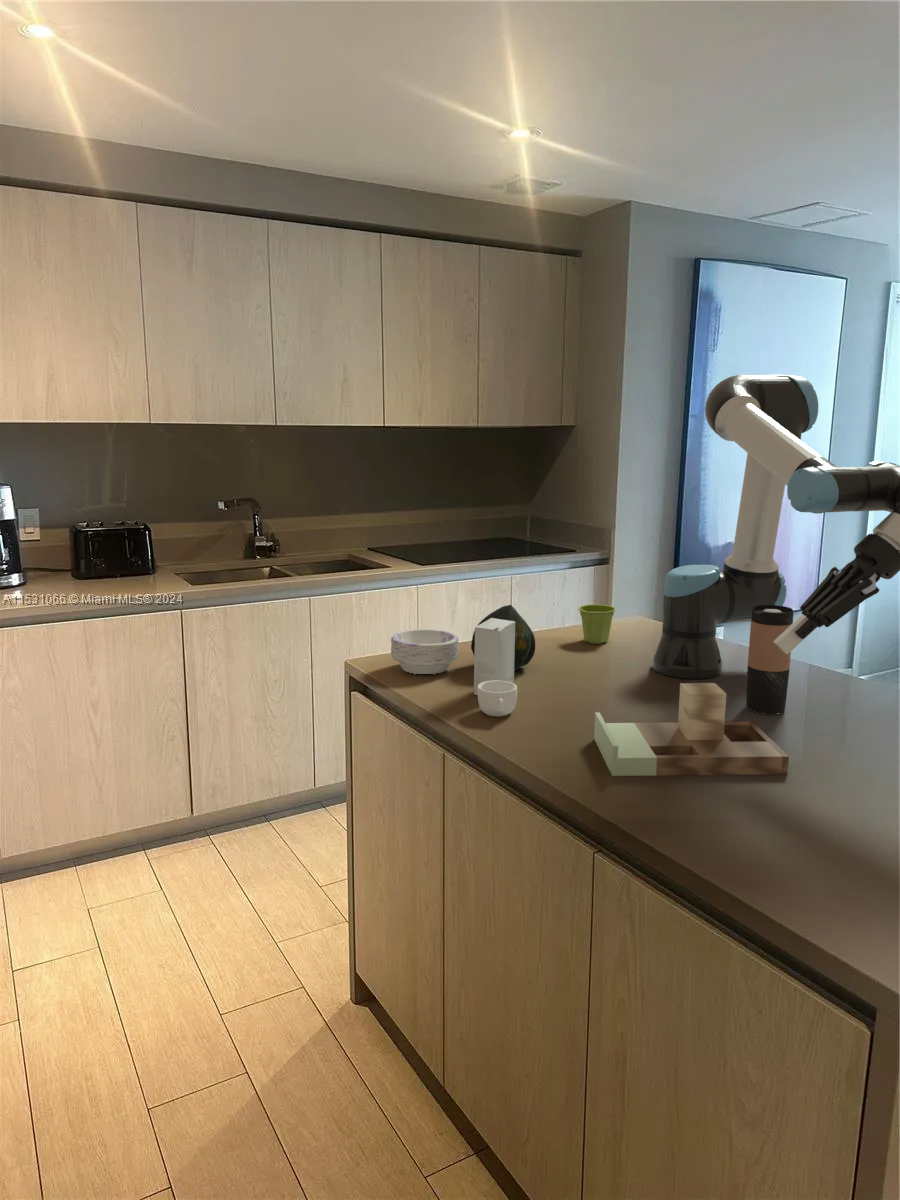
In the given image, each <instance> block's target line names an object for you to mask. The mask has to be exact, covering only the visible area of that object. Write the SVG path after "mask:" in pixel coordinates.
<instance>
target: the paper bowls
mask: <svg viewBox="0 0 900 1200" xmlns="http://www.w3.org/2000/svg"><path fill="white" fill-rule="evenodd" d="M390 642H391V647H390V649H391V651H390V653H391V654H390V655H391V658H392V660H393V661H395V662H398V663H399V665H400V667H401V669H402V670H403V671H404V672H406V673H408V672H409V673H408V674H411V673H413V674H412V675H416V674H433V675H437V674H436V673H438V674H442V673H444V672H445V671H447V670H448V668H449V666H450V664H451V663H454V662H456V660H458V658H459V637H458V636H457V634H455V633H453V632H450V631H446V630H441V629H440V630H439V629H431V628H429V629H427V628H426V629H423V628H422V629H421V628H420V629H407V630H402V631H398V632H396V633H393V634H392V636H391V638H390Z"/></svg>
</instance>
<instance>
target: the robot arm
mask: <svg viewBox="0 0 900 1200" xmlns="http://www.w3.org/2000/svg"><path fill="white" fill-rule="evenodd" d="M704 414H705V419H706V422H707V424H708V425H709V427H710V429H711V430H712V431H713V432H714V433H715V434H716V435H718V436H719V437H720V438H721V439H722V440H725V441H728V442H734V443H735V444H737V446H739V447H740V448H741V449H743V450H744V451H745V452H746V454H747V455H746V461H745V468H744V474H743V475H744V476H743V481H742V489H741V494H740V501H739V509H738V515H737V522H736V529H735V534H734V541H733V548H732V553H731V554H730V555H728V556H727V557H725V559H724V561H723V566H722V567H723V568H722V570H720V568H719V567H718V566H716V565H714V564H689V565H681V566H678V567H675V568H673V569H671V570H669V571H668V572H667V573H666V575H665V579H664V587H663V589H662V591H663V592H662V594H663V604H662V605H663V606H662V607H663V608H662V609H663V610H662V625H661V628H662V629H661V630H662V632H661V636H660V639H659V642H658V644H657V648H656V650H655V653H654V655H653V658H652V669H653V670H654V671H655V672H658V673H659V674H662V675H664V676H667V677H668V676H670V677H674V678H681V679H690V680H691V679H692V680H693V679H697V680H698V679H699V680H701V679H710V678H714V677H718V676H719V675H721V674H723V673H722V672H723V660H722V657H721V652H720V649H719V646H718V642H717V624H723V623H738V622H739V623H741V622H743V623H744V622H749V623H751V616H752V607H754V606H757V605H778V606H784V604H785V601H786V598H787V585H786V584H785V583H786V578H785V576H784V575H783V573H782V572H781V571H780V570H779V567H780V566H779V563H777V561H776V560H775V559H774V555H775V548H776V542H777V536H778V530H779V525H780V519H781V513H782V512H781V511H782V505H783V500H784V494H785V487H787V488H786V492H787V493H786V494H787V498H788V500H790V506H791V507H792V508H793V509H794V510H795V511H797V512H798V513H799V512H800V513H811V514H824V513H825V514H827V513H842V512H843V513H845V512H875V511H876V512H877V511H880V512H881V511H884V512H889V514H888V515H887V516H885V518H883V519H882V520H881V521H880V522H879V523H878V524H877V525H876V526H875V527H874V528H873V529H872V533H868V534H867V535H865V537H863V538H862V539H861V541H859V542H858V543H857V544H856V545H855V546H854V548H853V552H854V554H855V558H854V559H853V560H851V561H849V562H848V563H847V564H846V565H845V566H844V567H842V568H840V569H839V568H838V567H837V566H833V567H832V568H831V569H830V570H829V571H828V574H827V575H826V577H825V578H824V579H823V580H822V581H821V583H820V584H819V585H818V586H817V587H816V588H815V589H814V591H813V592H812V593H811V594H810V595H809V597H807V599H806V600H805V601H804V602H803V603H802V605H800V607H799V609H800V610H801V615H800V616H799V617H798V618H797V619H796V620H794V621H793V624H791V625H790V626H789V627H788V628H787V629H786V630H785V631H784V632H783V633H782V634H781V635H780V636H778V637H777V638H776V639H775V640H774V641H773V642H774V643H775V644H776V645H777V646H778V647H779V648H780V649H781V650H782V651H783V652H784V653H785V654H789V653H790V652H791V653H792V651H793V650H794V649H795V648H796V647H797V646H799V644H801V643H802V642H803V641H804V640H805V639H806V638H807V637H808V636H809V635H811V634H812V632H814V631H815V630H816V629H817V628H822V627H823V626H824V627H825V628H829V627H831V626H832V625H833V624H835V623H836V622H838V621H839V620H840V619H841V618H843V617H844V616H846V615H847V614H849V612H851V611H852V610H854V609H855V608H856V607H858V606H859V605H860V604H862V603H863V602H864V601H865V600H867V599H870V598H871V597H873V596H875V595H877V594H878V593H879V592H880V588H878V586H877V584H876V583H877V582H879V581H880V579H883V580H891V579H892V578H894V577H895V575H897V574H898V573H899V572H900V465H899V464H896V463H893V462H887V461H882V460H874V461H871V462H869V463H868V464H865V465H863V466H837V465H835V464H834V463H833V462H831V461H830V460H828V459H827V458H826V457H824V456H822V455H821V454H820V453H819V452H818V451H816V450H815V449H813V448H812V447H811V446H810V445H808V444H807V443H805V441H803V440H802V434H805V433H806V432H808V431H810V430H812V428H813V426H814V425H815V424H816V422H817V419H818V415H819V399H818V395H817V391H816V390H815V389H814V386H813V384H812V383H811V382H810V380H808V379H806V378H805V377H803V376H798V375H791V374H753V375H752V374H749V375H748V374H736V375H733V376H730V377H727V378H725V379H723V380H721V381H720V382H718V383H717V384H716V385H715V386H714V387H713V388H712V390H711V391H710V393H709V394H708V396H707V398H706V401H705V406H704Z"/></svg>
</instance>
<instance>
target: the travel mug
mask: <svg viewBox="0 0 900 1200" xmlns="http://www.w3.org/2000/svg"><path fill="white" fill-rule="evenodd" d="M793 623H794V609H793V608H791V607H788V606H784V605H783V606H778V605H757V606H754V607H752V616H751V622H750V627H749V628H750V632H749V644H748V645H749V646H748V657H747V670H746V671H747V673H746V675H747V676H746V698H745V699H746V701H745V702H746V704H745V705H746V708H748V709H747V710H749V709H750V710H752V711H751V712H753V711H755V712H754V713H756V712H758V713H757V714H760V713H764V714H763V715H769V714H774V715H778V714H777V713H781V714H783V713H784V712H785V711H786V704H787V696H788V695H787V694H788V685H789V679H790V678H789V677H790V667H791V657H792V656H791V655H792V654H791V653H792V651H791V652H790V653H789V654H785V653H784V652H783V651H782V650H781V649H780V648H779V647H778V646H777V645H776V644H775V643H774V642H773V641H774V640H775V639H776V638H777V637H778V636H780V635H781V634H782V633H783V632H784V631H785V630H786V629H787V628H788V627H789V626H790V625H791V624H793ZM750 710H749V711H750ZM782 712H783V713H782Z"/></svg>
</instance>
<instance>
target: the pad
mask: <svg viewBox="0 0 900 1200" xmlns="http://www.w3.org/2000/svg"><path fill="white" fill-rule="evenodd" d="M635 723H636V722H605V720H604V718H603V716H602V715H601V712H598V711H596V712H594V731H593V732H594V735H593V736H594V737H593V740H594V741H595V744H596V746H597V748H598V749H599V752H600V754H601V756H602V758H603V760H604V762H605V764H606V766H607V769H608V771H609V773H610V774H611V776H612V777H625V776H626V777H628V776H629V777H634V776H637V777H638V776H641V777H642V776H646V777H648V776H650V777H651V776H656V777H657V775H656V766H657V757H656V756H655V754H654V752H653V751H652V749H651V748H650V746H649V745H648V743H647V742H646V740H645V739H644V737H643V736H642V734H641V732H640V731H639V729H638V728H637V726H636V725H635Z"/></svg>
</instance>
